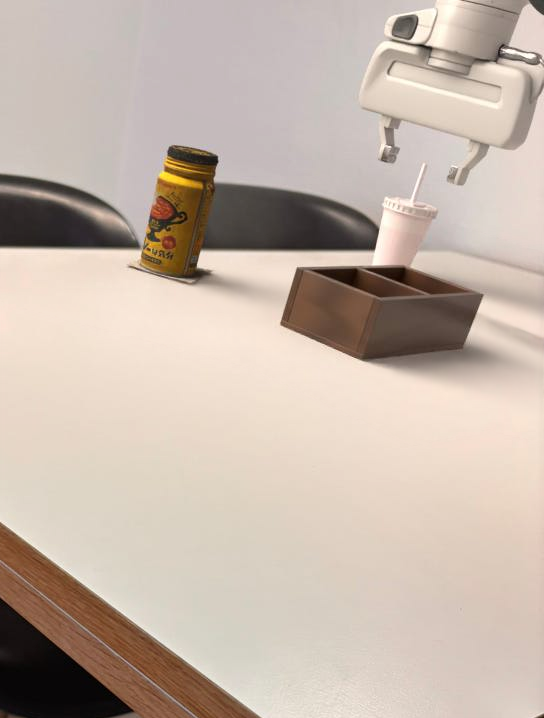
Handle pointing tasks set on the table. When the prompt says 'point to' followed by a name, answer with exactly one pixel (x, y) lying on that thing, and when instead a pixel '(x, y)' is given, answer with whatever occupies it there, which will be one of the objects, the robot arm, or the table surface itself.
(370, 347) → the box
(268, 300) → the table surface
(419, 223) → the smoothie
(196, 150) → the condiment
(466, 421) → the table surface
